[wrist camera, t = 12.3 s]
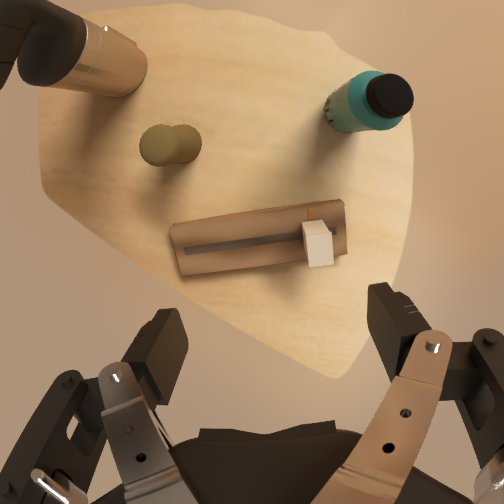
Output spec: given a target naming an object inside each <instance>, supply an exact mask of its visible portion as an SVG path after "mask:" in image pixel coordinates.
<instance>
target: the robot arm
mask: <svg viewBox="0 0 504 504" xmlns="http://www.w3.org/2000/svg"><path fill="white" fill-rule="evenodd" d="M16 58H17V67H18V72H19V75H20V77H21V78H22V80H23V81H25V82H26V83H28V84H30V85H34V86H43V87H51V88H60V89H67V90H74V91H81V92H87V93H93V94H98V95H104V96H108V97H123V96H126V95H128V94H130V93H131V92H133V91H134V90H135V89H136V88H137V87H138V86H139V85H140V83H141V82H142V81H143V79H144V76H145V74H146V70H147V60H146V57H145V55H144V53H143V52H142V51H141V50H140V49H138V48H137V46H136V42H134V41H133V40H131V39H129V38H128V37H126V36H124V35H123V34H121V33H119V32H118V31H116V30H114V29H112V28H111V27H109V26H105V27H102V28H101V27H99V26H98V25H96V24H94V23H92V22H90V21H88V20H86V19H84V18H82V17H80V16H78V15H76V14H73V13H71V12H70V11H68V10H66V9H63V8H61V7H59V6H57V5H55V4H53V3H51V2H49V1H47V0H0V90H1V89H2V88H3V86H4V84H5V82H6V80H7V78H8V76H9V74H10V72H11V70H12V67H13V65H14V61H15V60H16ZM367 323H368V328H369V332H370V334H371V336H372V338H373V341H374V343H375V345H376V348H377V350H378V352H379V355H380V357H381V360H382V362H383V364H384V367H385V369H386V372H387V374H388V376H389V379H390V382H391V385H390V387H389V389H388V391H387V393H386V395H385V397H384V399H383V401H382V402H381V404H380V406H379V408H378V410H377V412H376V413H375V415H374V417H373V419H372V420H371V422H370V424H369V426H368V427H367V429H366V431H365V432H364V434H363V435H362V434H359V433H357V432H353V431H348V430H342V429H336V426H335V420H332V421H326V422H319V423H312V424H303V425H299V426H295V427H292V428H288V429H285V430H281V431H278V432H274V433H271V434H257V433H251V432H245V431H240V430H235V429H203V428H201V429H200V432H199V436H198V438H194V439H189V440H186V441H184V442H181V443H179V444H177V445H174V444H173V442H172V440H171V438H170V437H169V435H168V433H167V431H166V429H165V427H164V425H163V424H162V422H161V420H160V418H159V416H158V414H157V412H156V411H155V408H156V405H168V403H169V400H170V398H171V395H172V392H173V389H174V386H175V384H176V381H177V378H178V375H179V373H180V370H181V367H182V365H183V362H184V359H185V355H186V354H187V351H188V338H187V335H186V332H185V329H184V326H183V323H182V320H181V317H180V314H179V312H178V310H177V309H176V308H170V309H169V308H168V309H159V310H158V311H157V313H156V314H155V316H154V318H153V319H152V321H149V322H147V323H146V324H145V325H144V326H143V327H142V328H141V329H140V331H139V332H138V334H137V337H135V339H134V340H133V343H131V345H130V347H129V348H128V350H127V352H126V353H125V355H124V357H123V358H122V360H121V361H120V362H114V363H112V364H109V365H108V366H106V367H104V368H103V369H102V370H101V372H100V373H99V376H98V377H97V378H91V379H85V380H84V378H83V377H82V375H81V374H80V372H79V371H76V370H69V371H66V372H64V373H62V374H60V375H59V376H58V377H57V378H56V379H55V381H54V382H53V384H52V385H51V387H50V388H49V390H48V391H47V393H46V394H45V396H44V398H43V399H42V401H41V402H40V404H39V406H38V407H37V409H36V410H35V412H34V413H33V415H32V417H31V418H30V420H29V422H28V423H27V425H26V427H25V429H24V430H23V432H22V434H21V435H20V437H19V439H18V441H17V443H16V444H15V446H14V448H13V450H12V452H11V453H10V455H9V457H8V459H7V461H6V463H5V465H4V467H3V469H2V471H1V473H0V504H88V498H87V491H88V489H89V486H90V483H91V480H92V477H93V475H94V472H95V469H96V466H97V464H98V461H99V458H100V456H101V453H102V451H103V448H104V445H105V443H106V440H107V438H108V441H109V444H110V448H111V451H112V454H113V457H114V460H115V463H116V465H117V469H118V471H119V474H120V477H121V479H122V482H123V483H122V484H120V485H119V486H117V487H116V488H114V489H113V490H111V491H110V492H108V493H107V494H105V495H103V496H102V497H100V498H99V499H97V500H96V501H94V502H92V503H91V504H504V336H503V334H501V333H500V332H499V331H496V330H494V329H489V328H485V329H480V330H478V331H477V332H476V333H475V334H474V336H473V339H472V342H452V340H451V339H450V337H449V336H448V335H447V334H445V333H444V332H441V331H438V330H432V329H431V327H430V326H429V324H428V323H427V321H426V320H425V319H424V317H423V316H422V314H421V313H420V312H418V309H417V308H416V306H414V303H413V302H412V301H411V300H410V298H409V297H408V296H406V295H404V294H403V293H401V292H395V293H394V291H393V290H392V289H391V287H390V286H389V284H388V283H387V282H383V283H377V284H371V285H369V286H368V305H367ZM447 400H455V403H456V405H457V407H458V409H459V412H460V414H461V416H462V419H463V422H464V424H465V427H466V429H467V431H468V434H469V437H470V439H471V442H472V445H473V448H474V450H475V453H476V456H477V459H478V462H479V465H480V468H481V471H480V472H479V474H478V475H477V477H476V479H475V484H474V489H475V497H474V500H473V502H472V501H471V500H470V499H468V498H467V497H465V496H464V495H462V494H460V493H458V492H456V491H454V490H453V489H451V488H449V487H448V486H446V485H444V484H442V483H441V482H439V481H437V480H435V479H434V478H432V477H430V476H429V475H427V474H425V473H424V472H422V471H420V470H419V469H417V468H415V467H414V466H413V464H414V462H415V459H416V458H417V455H418V453H419V451H420V449H421V446H422V444H423V442H424V439H425V437H426V434H427V432H428V429H429V426H430V424H431V421H432V418H433V416H434V413H435V410H436V407H437V404H438V401H447ZM73 415H74V417H75V418H76V419H77V420H78V422H79V423H78V425H77V427H76V429H75V431H74V433H73V435H72V437H71V439H70V440H69V439H68V437H67V433H66V430H67V427H68V425H69V423H70V420H71V419H72V417H73Z"/></svg>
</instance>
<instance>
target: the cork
mask: <svg viewBox="0 0 504 504" xmlns="http://www.w3.org/2000/svg"><path fill="white" fill-rule="evenodd" d="M201 146H202V141H201V137H200V134H199V133H198V131H197V130H196V129H195V128H193V127H191V126H189V125H177V126H174V127H170V126H168V125H163V124H160V125H155V126H153V127H151V128H149V129H148V130H147V131H146V132H145V133H144V134H143V135H142V137H141V139H140V144H139V148H140V153H141V156H142V158H143V159H144V160H145V161H146V162H147V163H149V164H150V165H153V166H157V167H159V166H166V165H168V164H170V163H172V162H174V163H180V164H181V163H188V162H190V161H192V160H193V159H195V158H196V157H197V156H198V154H199V152H200V150H201Z"/></svg>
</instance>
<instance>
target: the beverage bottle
mask: <svg viewBox="0 0 504 504" xmlns="http://www.w3.org/2000/svg"><path fill="white" fill-rule="evenodd" d="M350 80H351V79H350ZM348 81H349V80H348ZM335 91H336V90H335ZM329 96H330V95H329ZM413 101H414V96H413V92H412V89H411V87H410V85H409V84H408V83H407V82H406V81H405V80H404V79H403V78H402V77H400V76H398V75H395V74H384V73H382V72H378V71H366V72H362V73H360V74H359V75H357V76H356V77H355V78H354V79H353V78H352V80H351V81H350V82H348V83H347V84H345V85H343V87H341V88H340V89H339V90H337V91H336V92H335V93H333V94H332V95H331V96H330V97H329V98H327V100H326V103H324V104H325V105H324V106H325V108H324V111H325V112H324V113H325V117H326V119H327V121H328V122H329V123H328V124H330V125H331V126H332V127H333V128H335V129H336V130H338V132H339V131H341V132H345V133H348V132H349V133H350V132H359V131H368V130H388V129H391V128H393V127H395V126H396V125H397V124H398V123H399V122H400V121H401V120H402V118H403V116H404V115H405V114H407V113H408V112H409V111H410V109H411V108H412V105H413Z"/></svg>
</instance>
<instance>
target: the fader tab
mask: <svg viewBox="0 0 504 504" xmlns="http://www.w3.org/2000/svg"><path fill="white" fill-rule="evenodd" d="M302 230H303V239H304V248H305V252H306V255H307V258H308V264H309V268H310V267H318V266H325V265H332V264H334V258H333V244H332V233H331V231H329V230H328V228H327V227H326V225H325V223H324V222H323V220H314V221H307V222H302Z"/></svg>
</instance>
